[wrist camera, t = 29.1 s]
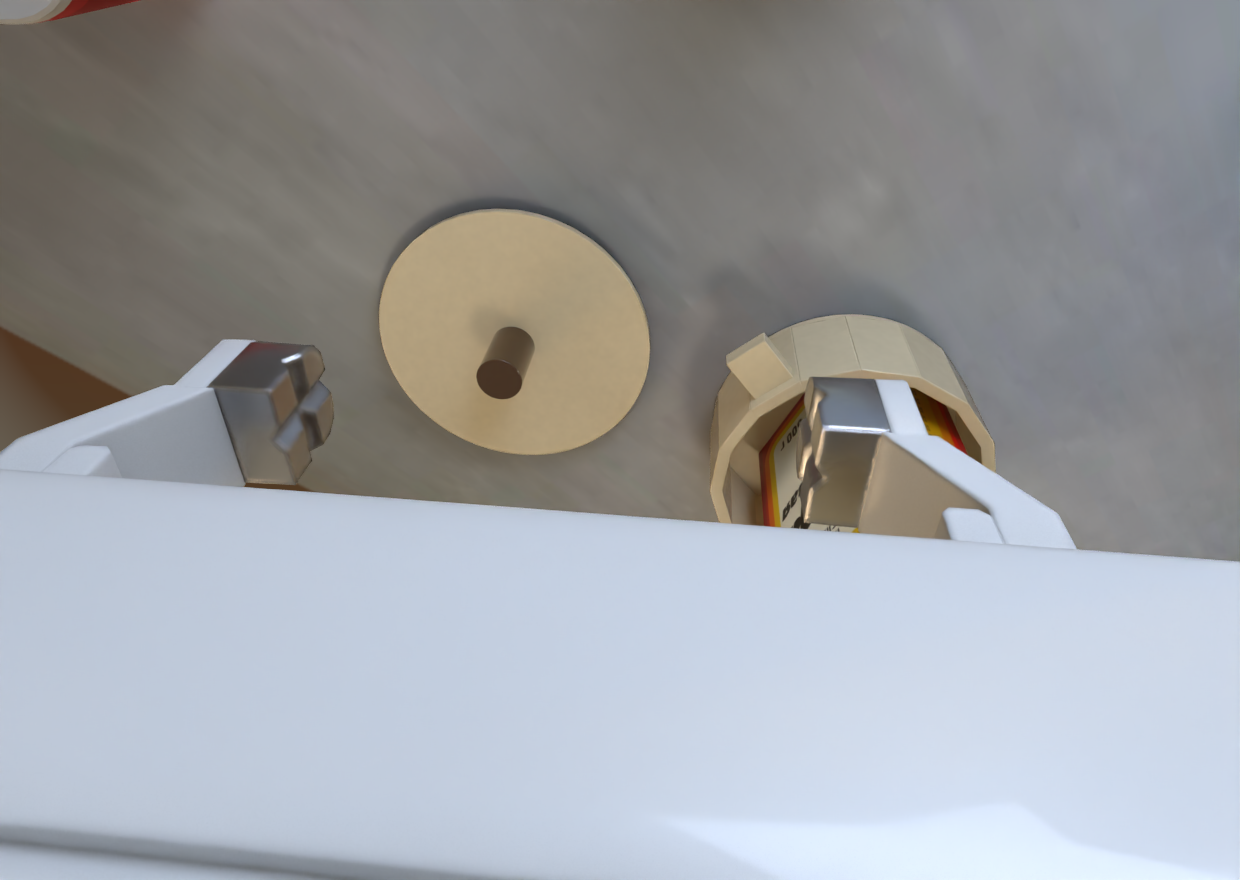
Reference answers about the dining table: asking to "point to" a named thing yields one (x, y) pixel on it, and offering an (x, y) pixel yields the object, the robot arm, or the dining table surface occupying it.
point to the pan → (778, 379)
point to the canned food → (49, 9)
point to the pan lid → (514, 331)
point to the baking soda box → (782, 475)
